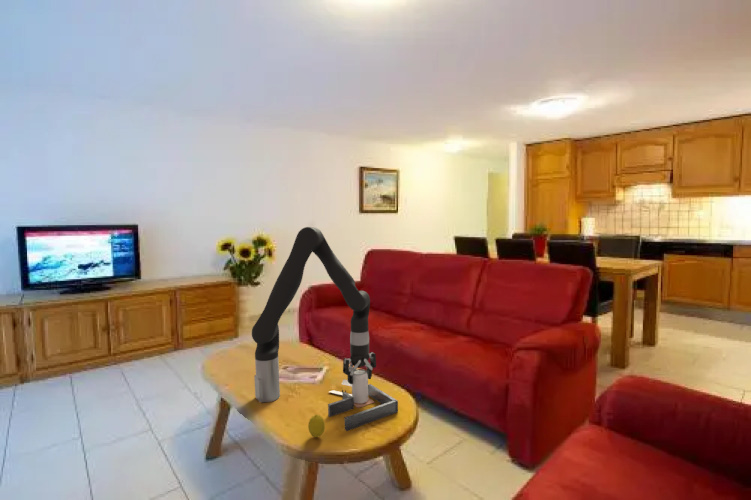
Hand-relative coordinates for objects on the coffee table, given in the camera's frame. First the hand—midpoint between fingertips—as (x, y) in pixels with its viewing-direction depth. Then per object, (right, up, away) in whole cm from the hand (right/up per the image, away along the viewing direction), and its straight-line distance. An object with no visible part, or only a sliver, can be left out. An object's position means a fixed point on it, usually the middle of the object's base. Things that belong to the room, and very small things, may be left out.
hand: (359, 381), depth 161 cm
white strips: (-6, -8, +11) cm, 15 cm away
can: (0, -8, +1) cm, 9 cm away
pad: (0, -9, +1) cm, 9 cm away
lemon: (-14, -11, -24) cm, 30 cm away
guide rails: (0, -9, -8) cm, 12 cm away
